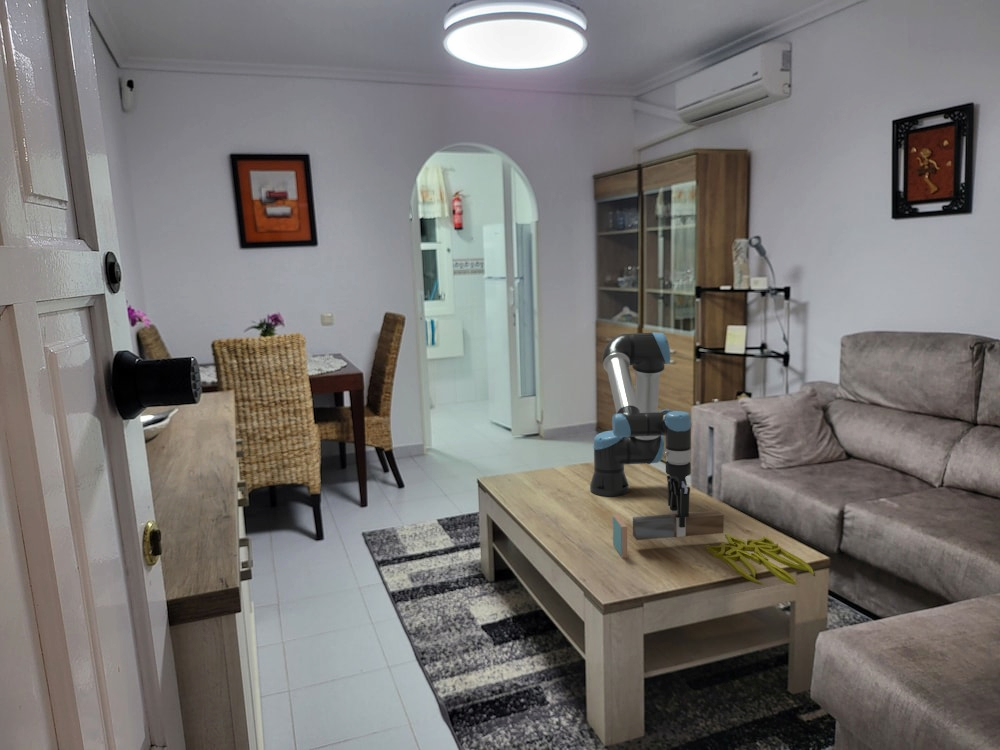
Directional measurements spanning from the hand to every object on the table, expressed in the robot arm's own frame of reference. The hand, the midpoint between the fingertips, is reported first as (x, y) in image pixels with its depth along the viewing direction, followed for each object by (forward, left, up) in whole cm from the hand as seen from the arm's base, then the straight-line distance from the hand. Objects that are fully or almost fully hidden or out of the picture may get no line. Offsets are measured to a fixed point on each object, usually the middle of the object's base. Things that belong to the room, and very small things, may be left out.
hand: (678, 533), depth 212 cm
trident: (+14, +19, -5) cm, 24 cm away
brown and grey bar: (0, 0, 0) cm, 0 cm away
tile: (0, -19, -4) cm, 19 cm away
